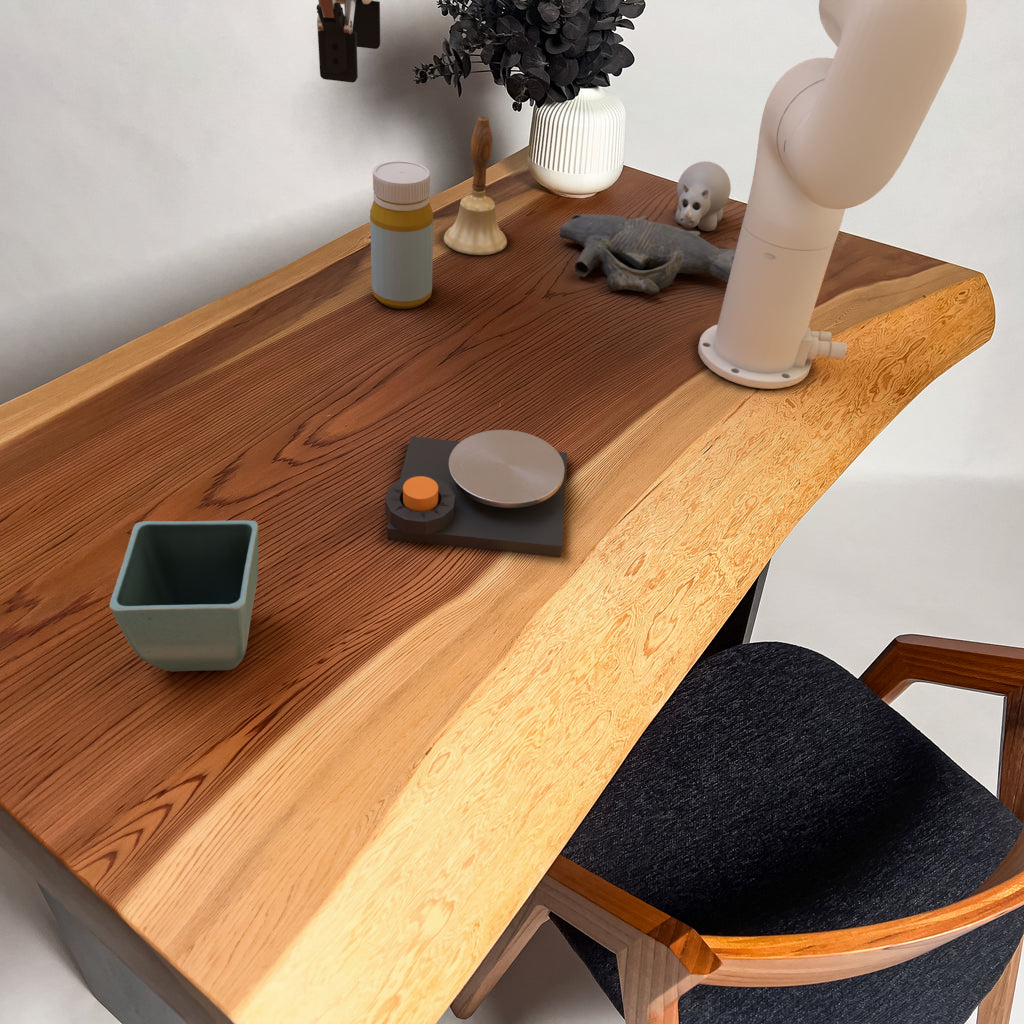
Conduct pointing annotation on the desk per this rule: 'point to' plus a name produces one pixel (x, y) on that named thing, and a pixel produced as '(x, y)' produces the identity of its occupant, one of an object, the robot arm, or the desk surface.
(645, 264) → the grey lumpy piece
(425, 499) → the tare button
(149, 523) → the flower pot
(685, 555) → the desk surface
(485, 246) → the hand bell
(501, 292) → the desk surface
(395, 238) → the bottle
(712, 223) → the round bodied animal figurine
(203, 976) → the desk surface
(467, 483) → the weighing platform
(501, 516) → the scale
